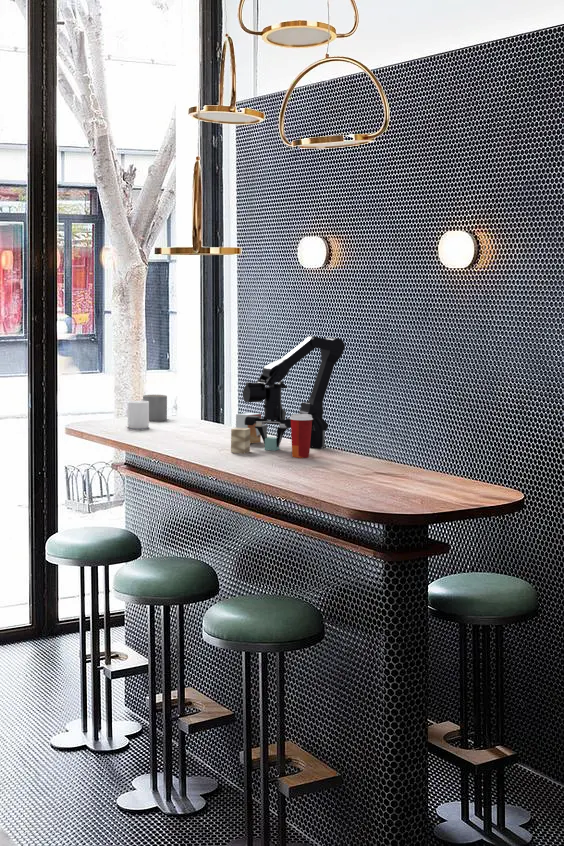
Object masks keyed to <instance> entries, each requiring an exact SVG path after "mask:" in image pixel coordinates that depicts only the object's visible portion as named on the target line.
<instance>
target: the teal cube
mask: <svg viewBox="0 0 564 846" xmlns="http://www.w3.org/2000/svg"><path fill="white" fill-rule="evenodd" d="M279 450H280V446H279V447H277V436H275V437H274V436H267V438H265V444H264V451H274V452H275V451H279Z"/></svg>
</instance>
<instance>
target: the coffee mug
mask: <svg viewBox="0 0 564 846" xmlns="http://www.w3.org/2000/svg"><path fill="white" fill-rule="evenodd" d="M140 401H148V402H149V422H161V421H163V422H164V421H167V420H168V396H167V395H165V394H144V395H143V396H142V399H141V400H140Z"/></svg>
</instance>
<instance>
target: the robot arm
mask: <svg viewBox="0 0 564 846" xmlns="http://www.w3.org/2000/svg"><path fill="white" fill-rule="evenodd" d="M345 348H346V344H345V343H344V340H343V339H342V338H338V337H331V336H330V337H326V338H322V337H318V336H313V335H308V336H307V337H306V338H305V339H304V340H302V342H300V343H299V344H298V345H297V346H296V347H294V348H293V349H292V350H291V351H289V352H288V353H287V354H285V355H284V356H282V357H281V358H280V359H278V360H274V361H271V362H270V363H269V364H267V365H265V366H264V367H263V368H262V373H261V374H260V376H259V378H258V379H257V380H256V382H251V381H247V382H246V381H245V386H244V388H243V391H242V398H243V401H244V402H245V403H262V402H263V401H264V404H263V407H262V408H263V410H264V413H263V415H264V416H263V418H262V417H261V418H260V416H248V417H246V418H245V425H254V424H255V423H256V426H255V428H257V429H258V431H259V433H260V435H261V439H262V442H263V444H264V445H265V438H267V437H268V426H269V425H277V426H278V425H279V427H277V428H276V437H277V447H279V448H280V445H281V442H282V440H283V437H284V434H285V432H286V431H287V430H288V429H291V419H289V418H290V417H287V418H286V414H287V411H286V410H285V409H283V404H282V389H288V386H287V385H286V384H285V383H284V381H283V380H284V379H285V377H286V376H287V375H288V374H289V371H290V370H291V369H292V368H293V367H294V366H295V365H296V364H297V363H298V362H300V361H301V360H302V359H304V358H305V357H306V356H307V355H309V354H310V353H311V352H312V351H314V350H315V349H319V350H320V358H321V359H320V360H321V362H320V364H319V368H318V370H317V374H316V377H315V381H314V383H313V386H312V389H311V392H310V396H309V398H308V400H307V401H306V402H304V401H302V402H301V404H300V409H299V411H298V412H297V414H310V415H312V418H313V420H312V430H311V441H310V448H314V449H315V448H316V449H322V448H325V447H326V446H327V444H325V443H326V441H325V440H326V431H328V429H329V424H328V423H327V421H326V420H325V419H324V418H323V417H324V407H323V406H324V405H323V403H324V398H325V395H326V394H327V393H326V392H327V389H328V387H329V384H330V380H331V377H332V374H333V371H334V368H335V365H336V363H337V362H338V361H339V359H341V358H342V355H343V353H344V351H345Z"/></svg>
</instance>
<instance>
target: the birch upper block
mask: <svg viewBox="0 0 564 846" xmlns="http://www.w3.org/2000/svg"><path fill="white" fill-rule="evenodd" d="M230 432H231V433H230V442H231V441H239V442H246V441H249V440H250V428H236V427H233V428H231V430H230Z"/></svg>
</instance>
